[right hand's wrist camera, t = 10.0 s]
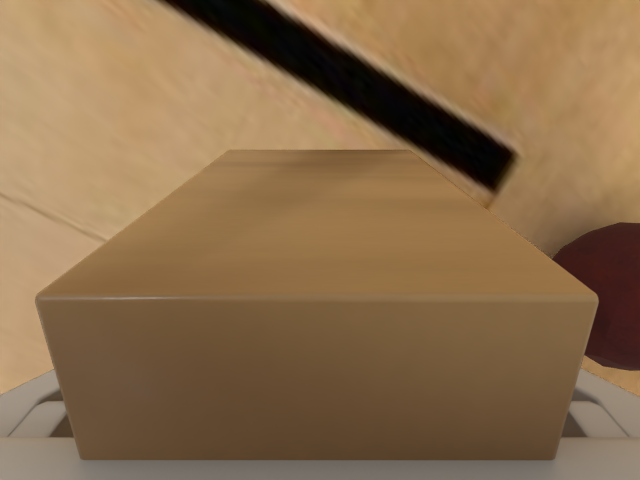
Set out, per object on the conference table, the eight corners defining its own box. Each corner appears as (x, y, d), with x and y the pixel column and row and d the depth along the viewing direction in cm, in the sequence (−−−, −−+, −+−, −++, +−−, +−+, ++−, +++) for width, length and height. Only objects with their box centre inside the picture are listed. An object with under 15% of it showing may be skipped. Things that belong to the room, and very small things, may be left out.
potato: (635, 319, 25) (744, 401, 19) (510, 321, 26) (576, 404, 19) (669, 205, 23) (810, 255, 16) (529, 208, 23) (613, 259, 16)
